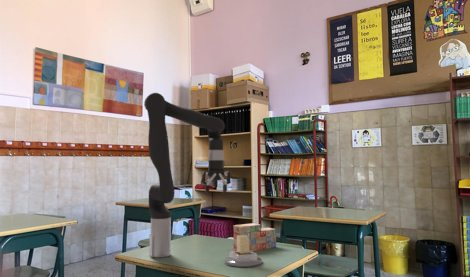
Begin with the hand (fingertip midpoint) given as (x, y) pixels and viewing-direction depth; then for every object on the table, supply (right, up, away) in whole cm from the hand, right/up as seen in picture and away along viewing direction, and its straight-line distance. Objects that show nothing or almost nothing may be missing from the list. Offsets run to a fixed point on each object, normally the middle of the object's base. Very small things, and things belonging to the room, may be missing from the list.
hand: (216, 193), depth 179 cm
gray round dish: (+13, -26, -22) cm, 37 cm away
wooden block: (+13, -25, -22) cm, 36 cm away
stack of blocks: (+19, -29, +4) cm, 35 cm away
